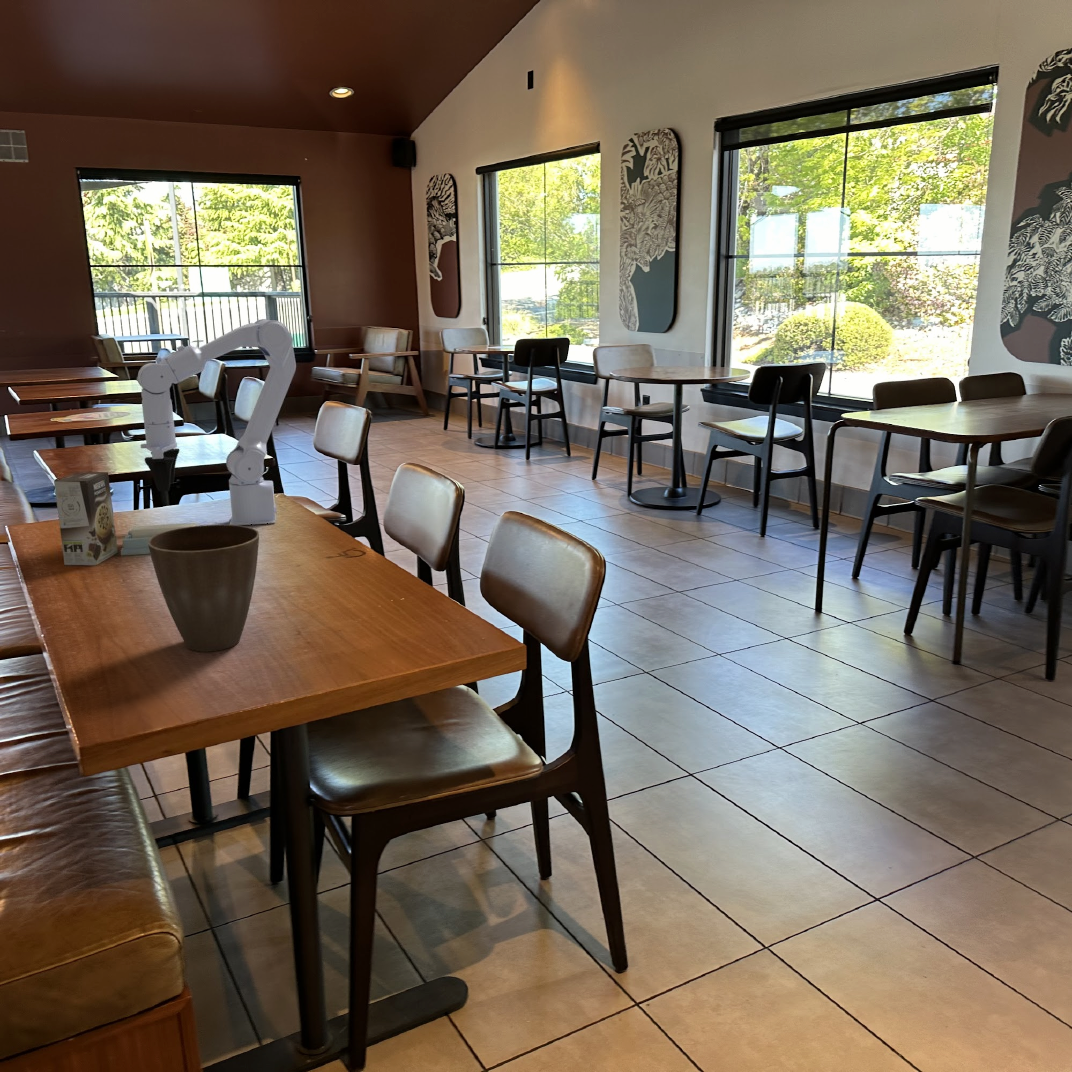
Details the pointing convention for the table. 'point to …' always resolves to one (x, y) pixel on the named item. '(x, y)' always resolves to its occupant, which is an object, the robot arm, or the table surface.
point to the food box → (86, 518)
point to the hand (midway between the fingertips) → (165, 487)
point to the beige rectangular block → (156, 529)
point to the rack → (135, 545)
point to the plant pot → (207, 581)
